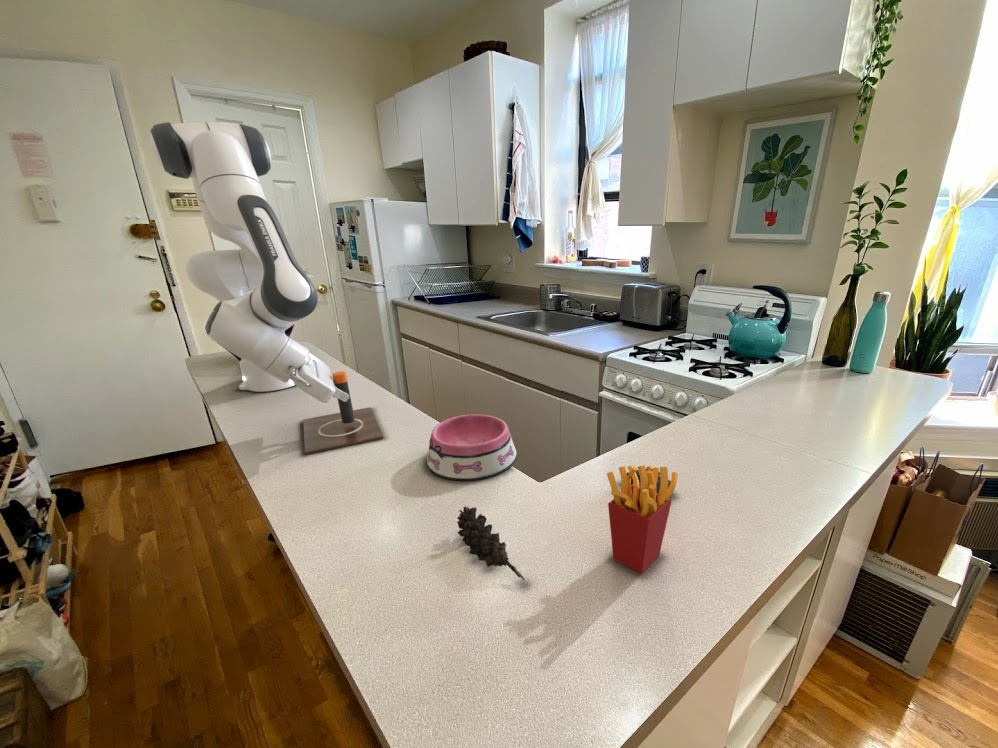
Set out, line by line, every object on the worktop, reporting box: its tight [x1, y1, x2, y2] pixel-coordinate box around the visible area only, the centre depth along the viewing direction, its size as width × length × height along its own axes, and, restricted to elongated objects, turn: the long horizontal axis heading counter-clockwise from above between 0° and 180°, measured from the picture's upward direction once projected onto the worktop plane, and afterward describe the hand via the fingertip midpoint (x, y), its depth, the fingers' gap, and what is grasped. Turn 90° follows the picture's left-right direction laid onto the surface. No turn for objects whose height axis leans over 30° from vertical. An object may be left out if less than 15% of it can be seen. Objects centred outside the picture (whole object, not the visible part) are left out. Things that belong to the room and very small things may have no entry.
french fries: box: [606, 464, 678, 575], centre depth 66 cm, size 9×8×15 cm
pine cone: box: [456, 505, 525, 581], centre depth 67 cm, size 17×5×5 cm, turn 34°
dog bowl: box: [426, 413, 518, 482], centre depth 95 cm, size 18×19×7 cm
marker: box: [331, 370, 355, 424], centre depth 108 cm, size 3×3×12 cm
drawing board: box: [302, 406, 384, 456], centre depth 110 cm, size 20×16×1 cm
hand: (346, 395), depth 108 cm, fingers closed on marker, 3 cm apart
